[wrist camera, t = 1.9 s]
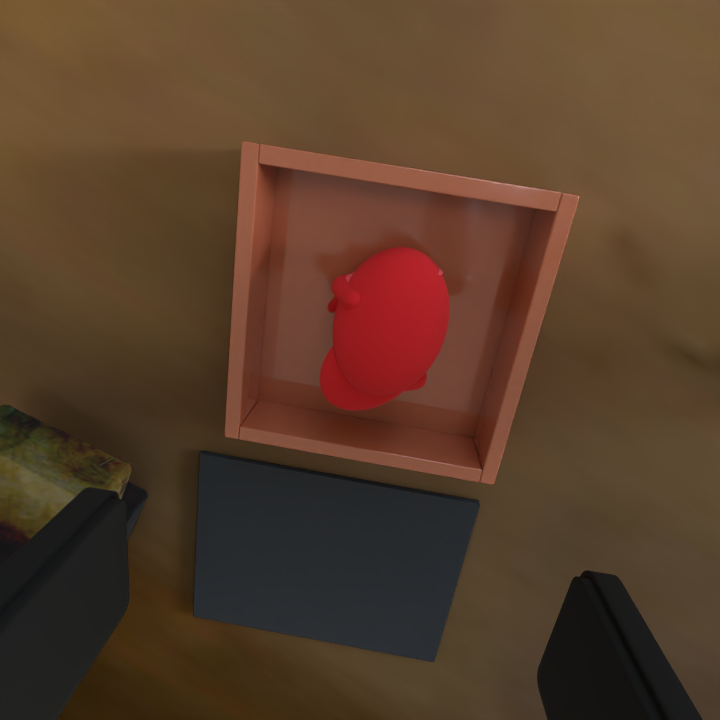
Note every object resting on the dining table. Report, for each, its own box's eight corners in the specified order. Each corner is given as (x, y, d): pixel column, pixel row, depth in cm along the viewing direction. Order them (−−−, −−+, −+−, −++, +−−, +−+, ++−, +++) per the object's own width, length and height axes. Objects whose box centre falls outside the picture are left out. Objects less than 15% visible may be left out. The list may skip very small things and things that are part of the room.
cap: (353, 224, 24) (338, 232, 18) (462, 260, 24) (480, 280, 19) (312, 361, 27) (288, 405, 21) (410, 393, 27) (412, 446, 21)
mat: (479, 500, 29) (480, 504, 29) (433, 657, 34) (434, 662, 34) (201, 450, 30) (199, 453, 30) (195, 612, 35) (192, 616, 34)
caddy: (552, 195, 23) (581, 195, 20) (482, 447, 28) (494, 485, 24) (266, 149, 24) (241, 140, 20) (246, 406, 29) (223, 437, 25)
